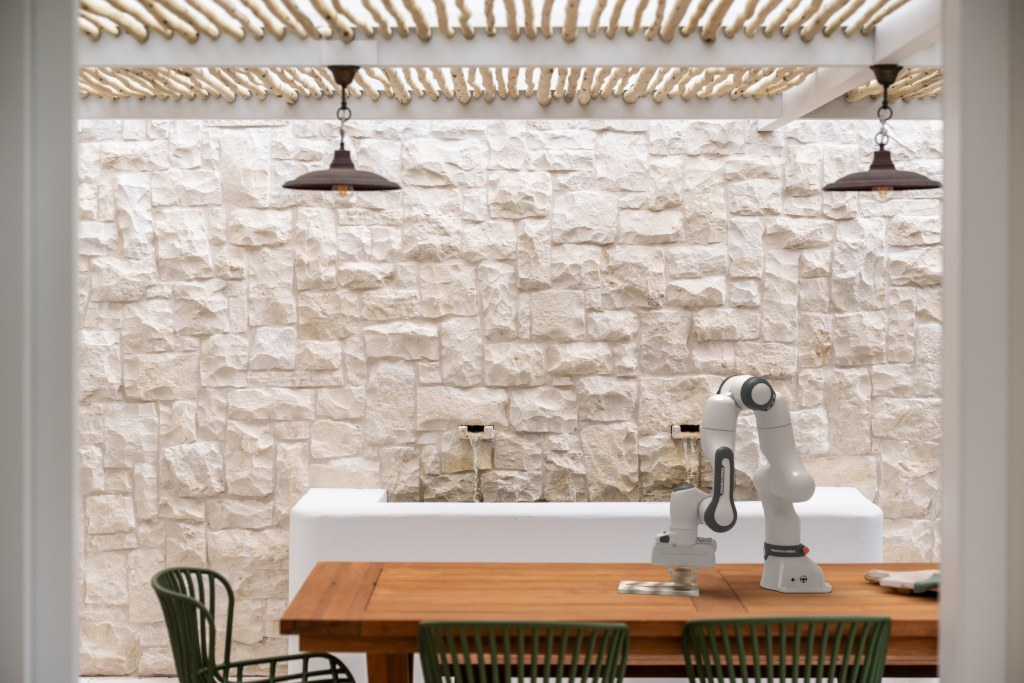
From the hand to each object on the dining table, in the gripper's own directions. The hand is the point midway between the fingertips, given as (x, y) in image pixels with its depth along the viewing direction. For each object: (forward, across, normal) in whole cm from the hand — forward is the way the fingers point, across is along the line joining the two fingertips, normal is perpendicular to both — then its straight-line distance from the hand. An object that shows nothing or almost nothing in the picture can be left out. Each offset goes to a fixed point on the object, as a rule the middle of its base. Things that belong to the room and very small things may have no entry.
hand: (683, 580), depth 351 cm
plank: (+3, +8, 0) cm, 8 cm away
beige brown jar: (+2, 0, 0) cm, 2 cm away
